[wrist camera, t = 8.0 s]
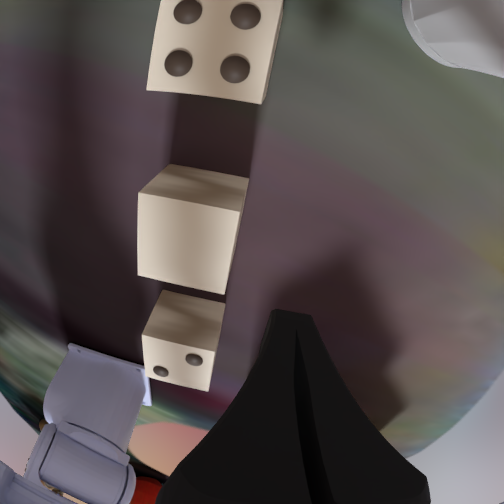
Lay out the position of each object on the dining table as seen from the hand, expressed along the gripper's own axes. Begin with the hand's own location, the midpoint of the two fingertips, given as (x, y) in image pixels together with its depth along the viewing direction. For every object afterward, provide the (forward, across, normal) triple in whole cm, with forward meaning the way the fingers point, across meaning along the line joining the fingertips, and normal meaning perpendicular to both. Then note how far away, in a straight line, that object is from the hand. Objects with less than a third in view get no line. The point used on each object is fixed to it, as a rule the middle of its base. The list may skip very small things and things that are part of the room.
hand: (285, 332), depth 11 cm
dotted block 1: (+10, +5, -9) cm, 15 cm away
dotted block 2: (+10, +5, +11) cm, 16 cm away
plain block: (+10, +5, +1) cm, 12 cm away
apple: (+11, +13, +68) cm, 70 cm away
